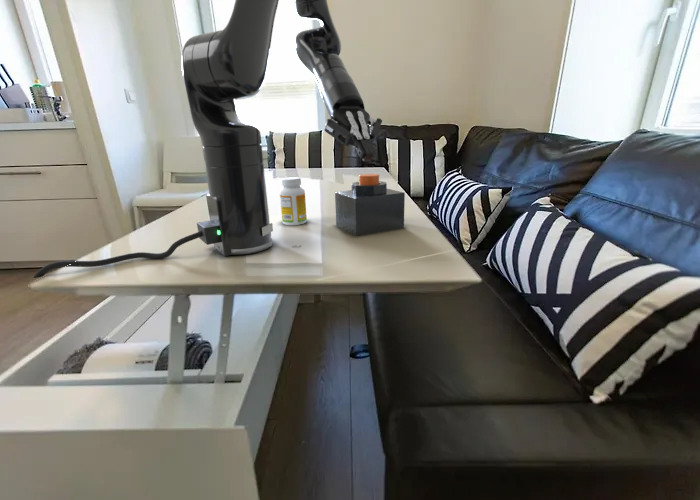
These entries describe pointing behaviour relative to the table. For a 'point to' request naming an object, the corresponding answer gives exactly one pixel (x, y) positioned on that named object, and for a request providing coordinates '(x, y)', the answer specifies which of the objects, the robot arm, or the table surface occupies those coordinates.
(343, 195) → the push button base
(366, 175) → the orange push button
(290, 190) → the supplement bottle
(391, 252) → the table surface
